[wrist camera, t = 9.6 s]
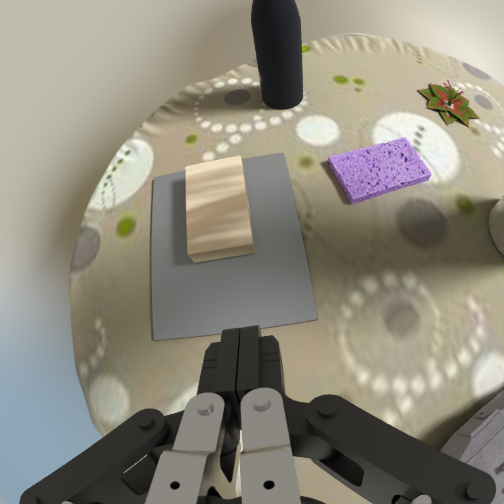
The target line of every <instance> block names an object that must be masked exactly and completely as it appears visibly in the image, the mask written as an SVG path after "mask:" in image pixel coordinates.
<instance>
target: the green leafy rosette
mask: <svg viewBox="0 0 504 504" xmlns="http://www.w3.org/2000/svg"><path fill="white" fill-rule="evenodd" d="M447 81H448V80H447ZM448 83H449V81H448ZM443 84H445V83H443ZM430 85H431V87H432V90H429V89H422V90H418V91H419V92H421V93H422V94H423V95H424V96H426V97H427V98H428V99H429V100H430V101H429V103H428V106H427V107H426V108H432V109H433V108H434V109H439V110H440V113H441V114H442V116H443V118H444V120H445V121H446V123H447V125H448V124H450V123H451V122H454V121H456V120H457V118H460V119H461V120H462V121H463V122H464V123H465V124H466V125H467V126H468V127H469V122H468V121H469V117H470V118H479V117H478V116H477V115H476V114H475V112H474V111H473V110H472V109H471V108H469V107H468V104H469V102H468V101H469V100H467V99H466V98H464V97H463V96H461V95H462V94H460V93H463V92H460V93H458V94H457V92H456V91H455V90H454V89H455V88H452V87H451V85H450V84H449V85H450V86H447V85H446V84H445V85H446V87H442V86H439V85H435V84H434V85H433V84H431V83H430ZM455 85H456V84H455ZM461 88H462V87H461ZM461 88H459V89H461ZM437 97H438V98H437ZM444 100H447V101H448V105H451V104H454V110H453V109H451V108H448V107H446V106H444ZM448 110H449V111H450V112H451V113H452V114H451V115H450V116H447V114H446V112H445V111H448Z"/></svg>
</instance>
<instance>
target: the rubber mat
mask: <svg viewBox="0 0 504 504" xmlns="http://www.w3.org/2000/svg"><path fill="white" fill-rule="evenodd" d="M242 163H243V167H244V174H245V182H246V189H247V196H248V203H249V211H250V218H251V225H252V233H253V240H254V247H255V253H252V254H246V255H239V256H233V257H227V258H221V259H215V260H208V261H202V262H196V263H194V262H193V260H192V259H191V258H190V257H189V256H188V251H187V223H186V171H181V172H177V173H172V174H168V175H164V176H159V177H155V178H154V187H153V209H152V251H151V274H152V316H153V338H154V340H155V341H157V340H169V339H180V338H190V337H199V336H208V335H217V334H222V330H224V329H232V328H241V327H247V326H255V325H259V327H260V329H263V328H270V327H276V326H283V325H289V324H295V323H301V322H307V321H313V320H318V316H317V311H316V305H315V299H314V294H313V288H312V283H311V278H310V273H309V267H308V262H307V257H306V252H305V247H304V242H303V237H302V233H301V228H300V223H299V218H298V214H297V209H296V204H295V200H294V195H293V191H292V187H291V182H290V178H289V174H288V169H287V165H286V161H285V157H284V153H278V154H271V155H265V156H259V157H253V158H247V159H242Z"/></svg>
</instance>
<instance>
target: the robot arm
mask: <svg viewBox="0 0 504 504" xmlns="http://www.w3.org/2000/svg"><path fill="white" fill-rule="evenodd" d="M489 230H490V234H491V237H492V239H493V241H494V244H495V245H496V247H497V248H498V250H499V251H500V252H501V254H502V255H503V256H504V195H503V196H502V197H501V199H500V200H499V201H498V203H497V204H496V205H495V206H494V207H493V208H492V209H491V212H490V214H489ZM240 430H242V441H243V451H242V452H241V453H240V450H241V443H240V441H239V440H240ZM145 455H147V456H146V457H145V458H143V457H144V456H145ZM293 456H297V457H303V458H311V460H312V461H313V462H314V463H315V464H316V465H318V466H319V467H320V468H322V469H323V470H324V471H326V472H327V473H329V474H330V475H331V476H333V477H334V478H335V479H337V480H338V481H340V482H341V483H343V484H344V485H346V486H347V487H348V488H350V489H351V490H353V491H354V492H356V493H357V494H359V495H360V496H362V497H363V498H365V499H366V500H368V501H370V502H371V503H373V504H491V502H492V501H493V499H494V497H495V494H496V483H495V481H494V479H493V477H492V476H491V475H489V474H488V473H486V472H484V471H482V470H480V469H477V468H475V467H473V466H471V465H469V464H466V463H464V462H462V461H460V460H458V459H456V458H454V457H451V456H449V455H447V454H445V453H443V452H441V451H439V450H437V449H435V448H433V447H431V446H429V445H427V444H425V443H423V442H421V441H419V440H417V439H415V438H413V437H412V436H410V435H408V434H406V433H404V432H402V431H400V430H398V429H396V428H395V427H393V426H391V425H389V424H387V423H385V422H384V421H382V420H380V419H378V418H376V417H375V416H373V415H371V414H369V413H368V412H366V411H364V410H362V409H361V408H359V407H357V406H355V405H354V404H352V403H350V402H349V401H347V400H345V399H343V398H342V397H340V396H337V395H330V394H328V395H322V396H319V397H316V398H314V399H313V400H312V401H311V402H310V403H305V402H298V401H294V400H292V399H290V398H289V397H287V396H286V394H285V384H284V373H283V365H282V359H281V353H280V347H279V342H278V341H277V340H276V339H275V337H274V336H273V335H271V336H264V337H262V336H261V331H260V327H259V325H255V326H247V327H241V328H232V329H224V330H222V335H221V342H215V343H211V345H210V346H209V347H208V349H207V350H206V351H205V355H204V362H203V365H202V370H201V375H200V380H199V385H198V391H197V395H196V396H195V397H193V398H192V399H190V401H189V402H188V403H187V405H186V407H185V410H183V411H180V412H177V413H174V414H170V415H167V416H163V414H162V413H161V412H160V411H159V410H156V409H144V410H141V411H139V412H137V413H136V414H134V415H133V416H132V417H130V418H129V419H128V420H126V421H125V422H124V423H122V424H121V425H119V426H118V427H117V428H115V429H114V430H113V431H111V432H110V433H109V434H107V435H106V436H104V437H103V438H102V439H100V440H99V441H98V442H96V443H95V444H93V445H92V446H91V447H89V448H88V449H86V450H85V451H84V452H82V453H81V454H79V455H78V456H76V457H75V458H73V459H72V460H71V461H69V462H68V463H66V464H65V465H63V466H62V467H60V468H59V469H58V470H56V471H55V472H53V473H51V474H50V475H48V476H47V477H45V478H44V479H42V480H41V481H40V482H38V483H36V484H35V485H33V486H32V487H30V488H28V489H27V490H26V491H25V492H24V493H23V494H22V496H21V498H20V504H325V503H323V502H321V501H319V500H316V499H313V498H309V497H304V496H300V493H299V487H298V482H297V476H296V471H295V465H294V460H293ZM239 457H240V474H241V493H242V496H241V497H237V496H236V489H235V486H236V478H237V471H238V464H239ZM141 458H143V459H142V460H141V461H140V462H138V461H139V460H140V459H141ZM136 462H138V463H137V464H136V465H134V464H135V463H136ZM132 465H134V466H133V467H132V468H131V469H129V468H130V467H131V466H132ZM127 469H129V470H128V471H127V472H125V471H126V470H127ZM124 472H125V473H124Z"/></svg>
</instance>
